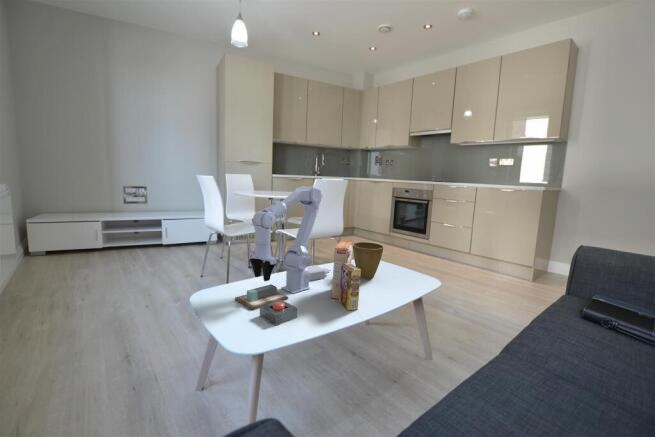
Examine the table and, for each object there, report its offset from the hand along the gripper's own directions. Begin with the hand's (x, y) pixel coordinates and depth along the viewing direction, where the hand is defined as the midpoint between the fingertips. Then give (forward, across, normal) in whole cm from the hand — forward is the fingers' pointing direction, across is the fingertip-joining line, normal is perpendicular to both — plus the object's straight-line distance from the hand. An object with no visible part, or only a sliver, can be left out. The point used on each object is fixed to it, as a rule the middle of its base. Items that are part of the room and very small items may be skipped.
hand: (262, 278), depth 119 cm
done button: (+6, +16, -4) cm, 18 cm away
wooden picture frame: (+8, 0, 0) cm, 8 cm away
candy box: (+9, +25, +22) cm, 34 cm away
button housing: (+8, +16, -4) cm, 19 cm away
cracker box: (+9, +15, +29) cm, 34 cm away
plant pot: (+9, +8, +55) cm, 56 cm away
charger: (+9, -8, +36) cm, 38 cm away
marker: (+7, 0, 0) cm, 7 cm away
